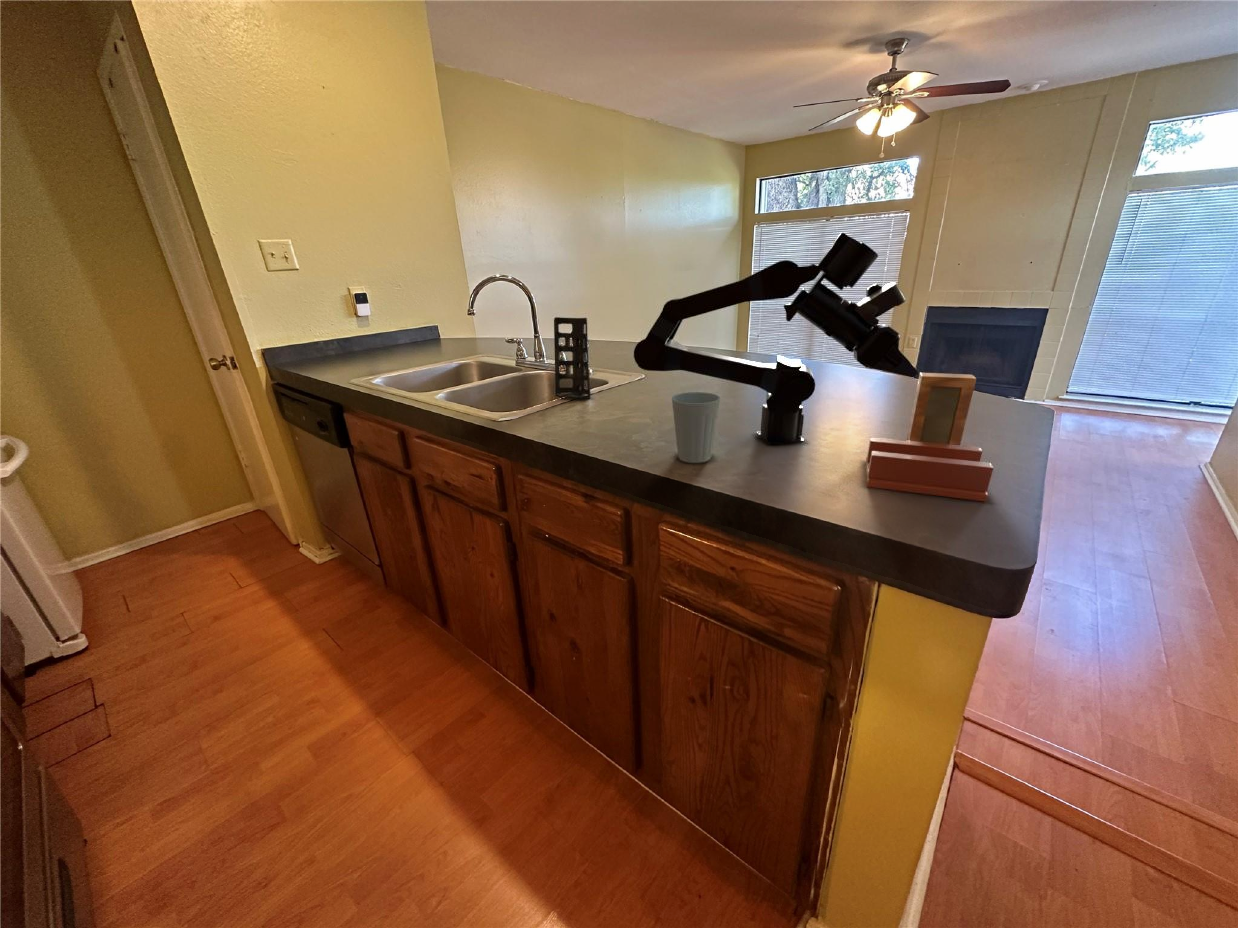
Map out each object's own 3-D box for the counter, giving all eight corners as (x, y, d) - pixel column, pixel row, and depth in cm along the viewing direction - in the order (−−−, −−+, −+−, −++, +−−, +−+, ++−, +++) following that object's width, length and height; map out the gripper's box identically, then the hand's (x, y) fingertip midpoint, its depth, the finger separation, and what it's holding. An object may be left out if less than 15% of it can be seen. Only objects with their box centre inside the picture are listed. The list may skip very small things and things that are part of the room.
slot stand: (867, 486, 68) (872, 457, 66) (865, 462, 76) (870, 435, 75) (986, 501, 62) (995, 470, 61) (970, 473, 71) (978, 445, 69)
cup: (726, 455, 81) (728, 395, 77) (701, 469, 76) (703, 406, 72) (689, 446, 86) (689, 389, 82) (663, 459, 81) (662, 399, 77)
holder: (547, 397, 123) (545, 317, 118) (561, 393, 130) (560, 317, 124) (585, 400, 119) (585, 317, 114) (598, 396, 126) (598, 318, 120)
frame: (906, 454, 79) (922, 376, 74) (904, 448, 81) (919, 372, 76) (956, 459, 76) (976, 378, 71) (953, 453, 79) (972, 374, 74)
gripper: (880, 269, 66) (972, 334, 66) (858, 269, 83) (932, 321, 82) (822, 336, 71) (907, 397, 71) (813, 323, 88) (882, 373, 88)
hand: (908, 369), depth 78 cm, fingers open, 9 cm apart
